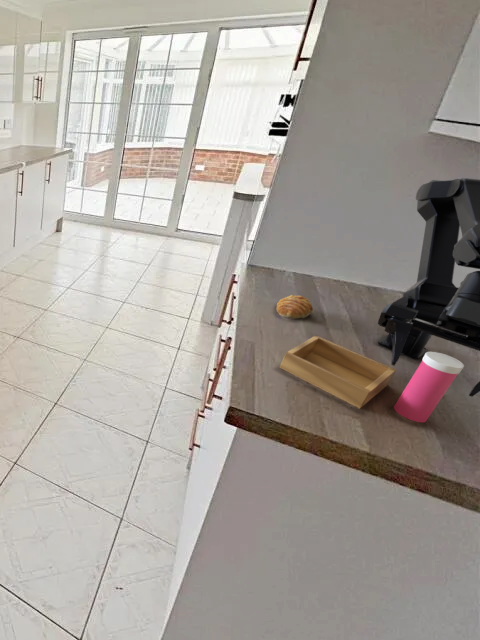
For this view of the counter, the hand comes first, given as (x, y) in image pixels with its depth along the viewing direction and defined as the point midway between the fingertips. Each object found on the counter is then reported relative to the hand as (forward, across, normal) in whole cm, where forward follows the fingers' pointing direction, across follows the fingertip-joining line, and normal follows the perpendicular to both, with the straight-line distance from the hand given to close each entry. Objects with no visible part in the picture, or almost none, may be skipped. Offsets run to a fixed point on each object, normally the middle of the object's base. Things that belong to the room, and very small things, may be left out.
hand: (430, 379), depth 68 cm
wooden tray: (+6, -11, +4) cm, 13 cm away
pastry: (-10, -25, +21) cm, 34 cm away
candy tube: (+6, 0, +4) cm, 7 cm away
